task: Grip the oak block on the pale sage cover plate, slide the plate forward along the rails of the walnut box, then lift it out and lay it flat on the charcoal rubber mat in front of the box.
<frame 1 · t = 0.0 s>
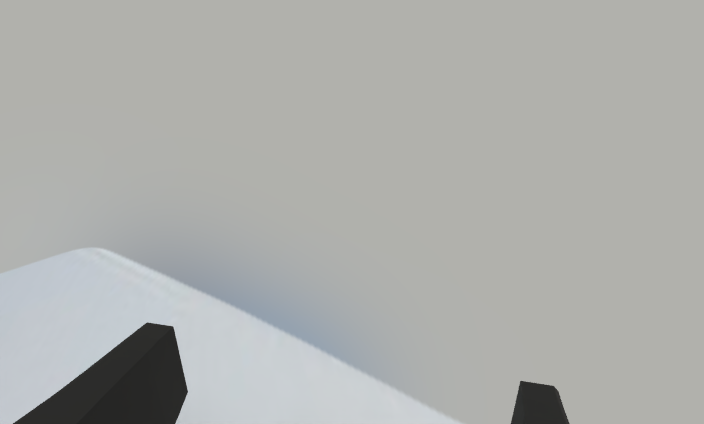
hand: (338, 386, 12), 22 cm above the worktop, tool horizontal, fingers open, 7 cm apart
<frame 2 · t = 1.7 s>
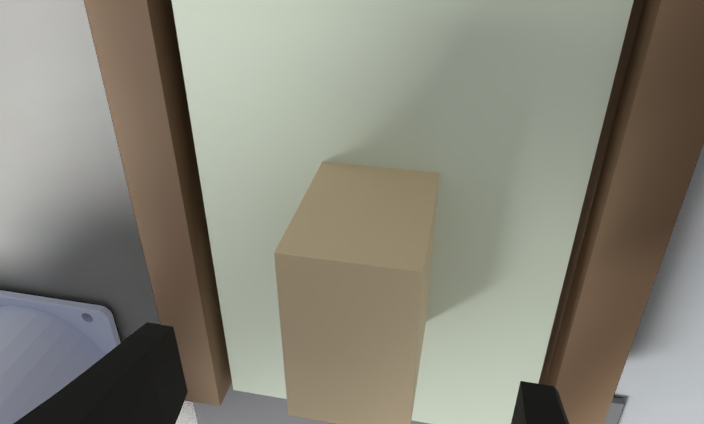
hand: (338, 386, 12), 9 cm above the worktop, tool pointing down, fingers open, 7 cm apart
walnut box: (397, 166, 19), on the worktop
cover plate: (382, 230, 17), point 3 cm above the worktop, touching walnut box
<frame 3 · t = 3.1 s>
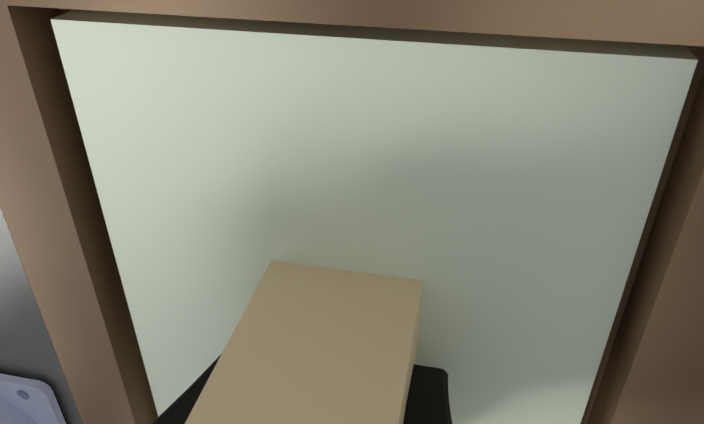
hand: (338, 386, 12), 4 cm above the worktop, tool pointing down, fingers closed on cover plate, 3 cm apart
walnut box: (376, 241, 16), on the worktop
cover plate: (353, 335, 14), point 3 cm above the worktop, touching gripper, walnut box
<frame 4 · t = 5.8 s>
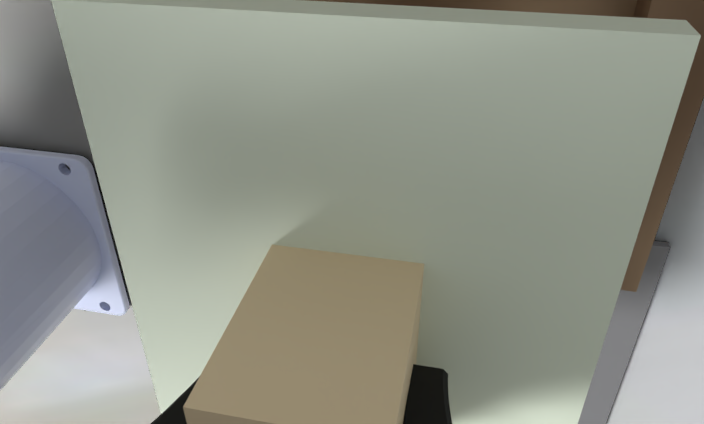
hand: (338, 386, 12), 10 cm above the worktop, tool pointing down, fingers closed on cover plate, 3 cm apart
cover plate: (354, 321, 13), point 8 cm above the worktop, touching gripper
charcoal mat: (392, 366, 26), on the worktop
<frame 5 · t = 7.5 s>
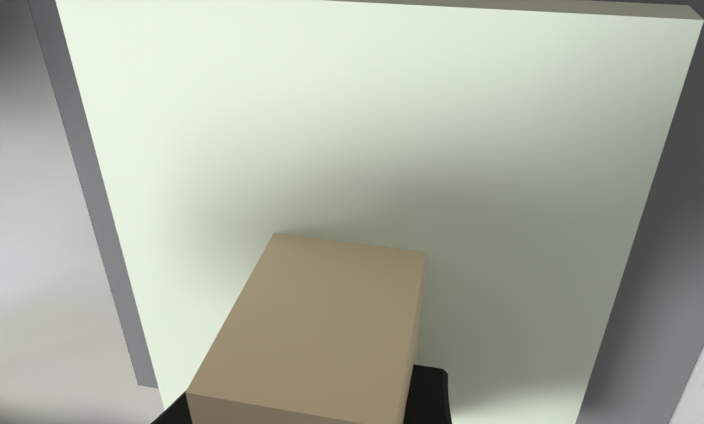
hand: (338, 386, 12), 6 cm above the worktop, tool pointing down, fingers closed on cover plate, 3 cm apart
cover plate: (356, 310, 13), point 4 cm above the worktop, touching gripper
charcoal mat: (380, 234, 17), on the worktop
when the fingers open (3 cm above the worktop, at t = 8.6 s): cover plate drops 1 cm, resting on charcoal mat.
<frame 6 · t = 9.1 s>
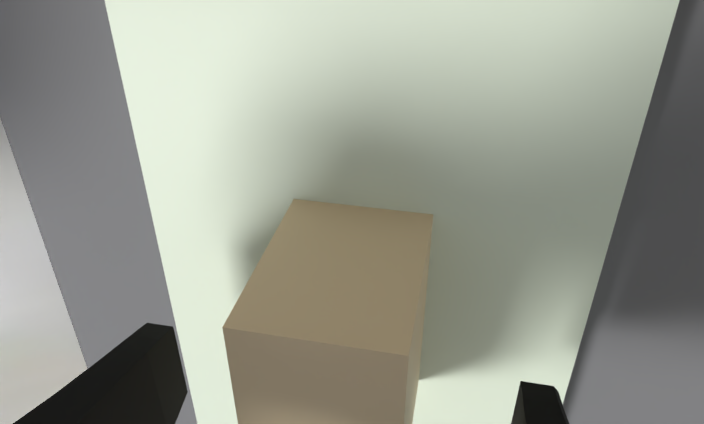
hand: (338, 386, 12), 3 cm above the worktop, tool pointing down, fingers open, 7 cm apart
cover plate: (367, 275, 15), resting on charcoal mat
charcoal mat: (368, 282, 15), on the worktop
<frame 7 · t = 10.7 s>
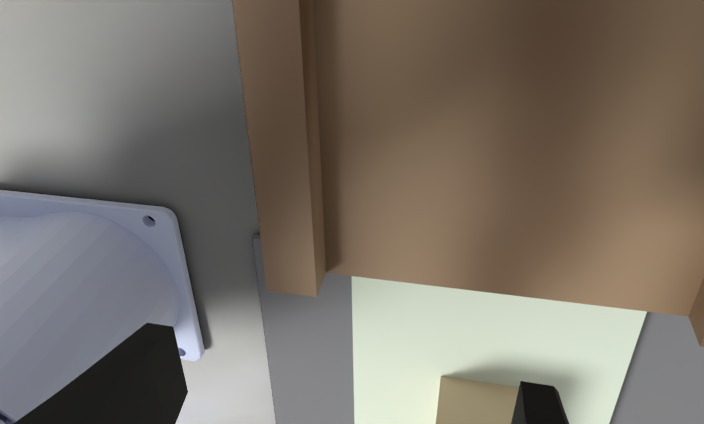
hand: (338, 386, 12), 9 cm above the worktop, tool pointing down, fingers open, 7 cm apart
cover plate: (474, 407, 25), resting on charcoal mat
charcoal mat: (473, 409, 26), on the worktop
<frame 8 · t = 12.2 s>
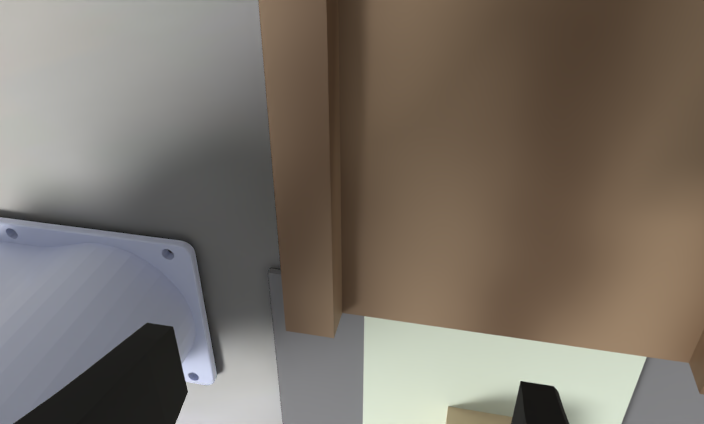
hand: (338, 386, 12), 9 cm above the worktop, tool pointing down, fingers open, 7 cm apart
walnut box: (545, 61, 17), on the worktop
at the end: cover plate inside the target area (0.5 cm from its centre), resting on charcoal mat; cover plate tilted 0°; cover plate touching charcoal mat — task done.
